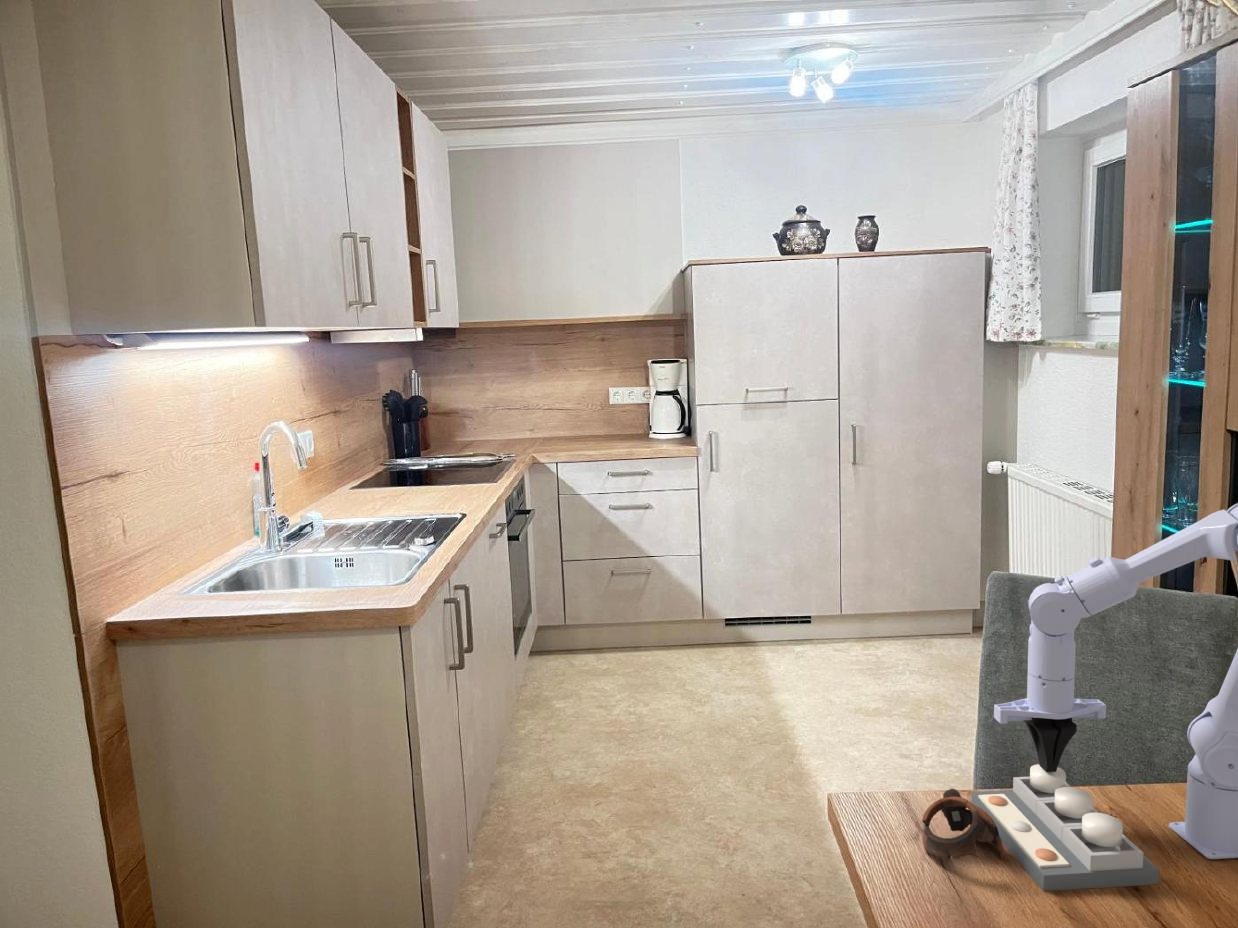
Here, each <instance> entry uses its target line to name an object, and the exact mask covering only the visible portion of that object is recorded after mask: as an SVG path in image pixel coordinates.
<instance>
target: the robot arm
mask: <svg viewBox="0 0 1238 928" xmlns="http://www.w3.org/2000/svg"><path fill="white" fill-rule="evenodd" d="M1236 552H1238V502H1237V503H1235V504H1233V505H1232V506H1230V507H1229V508H1228V509H1227V510H1226V509H1219V510H1218V511H1215V512H1213V513H1210V514H1208V515H1207V516H1205V517H1203V518H1201V519H1200V520H1198V521H1196V522H1194V523H1193V524H1190V525H1189V526H1186V527H1184V528H1183V529H1181V530H1179V531H1178V532H1174V533H1173V534H1171V535H1169V536H1168V537H1166V538H1164V539H1161V540H1160V541H1158V542H1156V543H1155V544H1152V545H1150V546H1149V547H1147V548H1144V549H1143V550H1141V551H1139V552H1137V553H1135V554H1134V555H1132V556H1130V557H1127V558H1126V559H1120V558H1117V557H1112V556H1107V557H1105V558H1104V559H1100V558H1099V556H1096V557H1094V558H1092V559H1089V560H1088V563H1089V566H1086V567H1084V568H1082V569H1079V570H1078V571H1076V572H1073V573H1071V574H1070V575H1067V576H1065V577H1063V576H1062V575H1059V576H1057V577H1055V578H1054V582H1053V583H1051V582H1046V583H1043V584H1040V585H1038V586H1036V587H1035V588H1034V589H1033V590H1032V592H1031V593H1030V596H1029V598H1028V600H1027V606H1028V609H1029V616H1030V618H1031V621H1030V625H1029V637H1028V645H1027V680H1026V681H1027V683H1026V684H1027V685H1026V687H1027V688H1026V698H1022V699H1018V700H1013V701H1008V702H1004V703H996V704H994V705H993V718H994V719H995V720H996V721H997V722H998V723H999V724H1008V722H1011V721H1012V722H1013V721H1014V722H1015V721H1016V722H1017V721H1024V723H1025V725H1026V727H1027V729H1028V732H1030V733H1029V734H1030V735H1031V738H1032V741H1033V743H1034V746H1035V750H1036V751H1035V752H1036V755H1037V758H1038V764H1039V765H1040V767H1041V768H1042V769H1044V770H1045V771H1046V772H1056V771H1057V767H1058V768H1059V763H1060V762H1061V757H1063V756H1062V755H1063V754H1064V751H1065V749H1066V747H1067V746H1068V744H1069V743H1070V740H1072V738H1073V737H1074V736H1075V735H1076V733H1077V729H1078V725H1077V724H1076V723H1075V722H1073V719H1074V718H1092V717H1093V718H1094V717H1095V718H1096V719H1107V704H1105V702H1103V701H1101V700H1100V699H1098V698H1097V699H1091V698H1090V699H1089V698H1087V699H1086V698H1076V697H1075V675H1076V673H1075V672H1076V648H1077V647H1076V641H1075V630H1076V629H1077V627H1078V626H1079V623H1080V621H1081V619H1084V618H1089V617H1092V616H1094V615H1096V614H1098V613H1100V612H1103V611H1105V610H1107V609H1110V608H1112V607H1113V606H1117V605H1118V604H1120V603H1123V602H1125V601H1128V600H1129V599H1131V598H1134V597H1135V596H1136V595H1137V591H1138V588H1139V585H1140V584H1141V583H1142V582H1145V581H1147V580H1150V579H1152V578H1155V577H1157V576H1160V575H1163V574H1165V573H1167V572H1169V571H1172V570H1175V569H1176V568H1180V567H1182V566H1184V565H1186V564H1190V563H1191V562H1195V561H1197V560H1199V559H1202V558H1212V559H1213V558H1214V559H1219V560H1220V559H1221V560H1226V561H1237V555H1236ZM1186 735H1187V736H1186V737H1187V740H1188V743H1189V745H1190V746H1191V748H1193V750H1194V753H1195V754H1194V756H1193V758H1192V760H1190V761H1189V763H1188V764H1187V776H1186V779H1187V780H1186V797H1185V811H1184V813H1185V815H1184V816H1185V817H1184V821H1173V822H1169V823H1168V828H1170V829H1171V830H1172V831H1174V832H1175V833H1176V834H1177V835H1179V837H1181V838H1182V839H1183V840H1185V842H1187V843H1188V844H1189V845H1191V846H1192V847H1193V848H1194V849H1196V851H1198V852H1199V853H1200V854H1202V855H1203V857H1205V858H1206V859H1209V860H1217V859H1218V860H1220V859H1221V860H1222V859H1223V860H1224V859H1238V648H1237V650H1236V652H1235V654H1234V656H1233V659H1232V661H1231V664H1230V666H1229V668H1228V671H1227V672H1226V675H1225V678H1224V680H1223V682H1222V684H1221V688H1220V690H1219V692H1218V695H1216V696H1215V697H1213V698H1211V699H1210V700H1209V701H1208V702H1207V704H1206V707H1205V708H1204V710H1203V711H1202V713H1201V714H1199V715H1198V716H1197V717H1195V718H1193V720H1192V721H1191V722H1190V723H1189V725H1188V728H1187V734H1186Z"/></svg>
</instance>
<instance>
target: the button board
mask: <svg viewBox="0 0 1238 928" xmlns="http://www.w3.org/2000/svg"><path fill="white" fill-rule="evenodd" d="M1012 786H1013V787H1012V789H1000V790H983V791H980V790H979V791H971V799H970V802H971V803H972V804H974V805H976V806H978V807H979V808H981V809H983V810H984V811H985V812H986V813H987V814H988V815H989V816H990V817H991V818H992V819H993V821H994V823H995V825H996V826H997V828H998V833H999V836H1000V838H1001V840H1002V844H1003V846H1005V848H1007V850H1008V851H1009V852H1010V853H1011V855H1013V857H1014V858H1015V859H1016V861H1018V863H1019V864H1020V865H1021V867H1023V869H1024V870H1025V871H1026V872H1027V874H1028V875H1029V876H1030V877H1031V878H1032V879H1033V881H1035V883H1036V884H1037V886H1039V888H1040V889H1041V890H1042V891H1043V892H1047V891H1048V892H1050V891H1064V890H1066V891H1067V890H1082V889H1083V890H1085V889H1100V888H1114V887H1115V888H1116V887H1117V888H1118V887H1121V888H1122V887H1134V886H1135V887H1138V886H1153V885H1154V886H1156V885H1159V872H1160V869H1159V867H1158V866H1156V865H1155V864H1154V863H1153V862H1152V861H1151V860H1150V859H1149V858H1148V857H1147V856H1145V855H1144V852H1143V851H1142V850H1141V848H1139V847H1138V846H1136V845H1135V844H1134V843H1133V842H1132V841H1131V840H1130V838H1128V837H1127V836H1126V835H1125V834H1123V837H1122V844H1121V845H1119V846H1117V847H1103V846H1099V845H1096V844H1093V843H1091V842H1089V841H1087V840H1086V839H1085V838H1084V837H1083V836H1082V819H1077V818H1071V817H1067V816H1064V815H1062V814H1060V813H1059V812H1057V811H1056V810H1055V808H1054V801H1055V793H1046V792H1042V791H1039V790H1037V789H1035V788H1033V787H1032V786H1031V785H1030V776H1015V777H1013V779H1012ZM1065 787H1072V786H1071V785H1070V784H1069V783H1067V782H1066V785H1065ZM1094 812H1095V813H1100V811H1098V810H1097V809H1096V808H1095V807H1094V806H1093V807H1092V813H1094Z"/></svg>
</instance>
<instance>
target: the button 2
mask: <svg viewBox="0 0 1238 928" xmlns="http://www.w3.org/2000/svg"><path fill="white" fill-rule="evenodd" d="M1123 831H1124V825H1123V822H1121V821H1120V820H1119V819H1118V818H1117V817H1115V816H1112V815H1110V814H1108V813H1102V812H1099V813H1095V812H1094V813H1087V814H1085V815H1083V817H1082V836H1083V837H1084V838H1085V839H1086V840H1087V841H1089V842H1091V843H1093V844H1096V845H1099V846H1103V847H1117V846H1119V845H1121V844H1122V837H1123V835H1124V832H1123Z"/></svg>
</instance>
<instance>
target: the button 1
mask: <svg viewBox="0 0 1238 928" xmlns="http://www.w3.org/2000/svg"><path fill="white" fill-rule="evenodd" d="M1029 771H1030V772H1029V777H1030V785H1031V786H1032V787H1033V788H1035V789H1037V790H1039V791H1042V792H1046V793H1055V790H1056V789H1058V788H1061V787H1065V785H1066V783H1067V781H1066V780H1067V776H1066V775H1067V774H1066V773H1067V772H1065V771H1064V770H1063V769H1062V768H1061V767H1059V766H1058V767H1057V771H1056V772H1046V771H1045V770H1044V769H1042V768H1041V767H1040V765H1039V763H1037V764H1034V765H1031V767H1030V769H1029Z"/></svg>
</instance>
